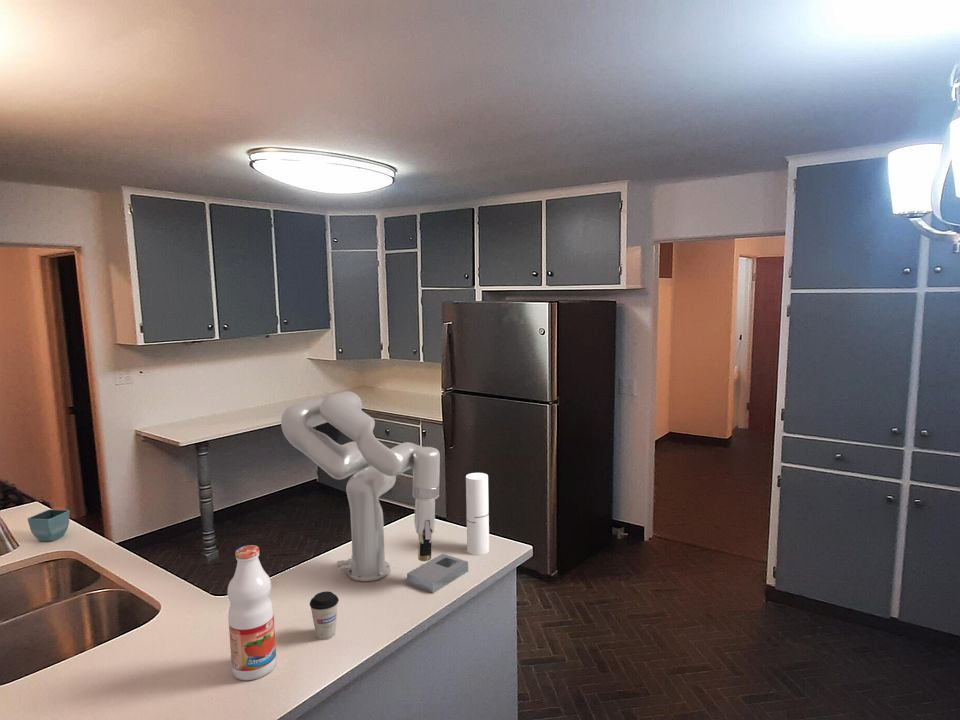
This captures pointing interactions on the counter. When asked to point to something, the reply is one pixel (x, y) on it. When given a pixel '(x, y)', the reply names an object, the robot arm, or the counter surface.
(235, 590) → the fruit juice
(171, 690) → the counter surface
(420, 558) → the tan cylindrical peg
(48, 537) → the flower pot
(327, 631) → the coffee cup
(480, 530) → the cylindrical container
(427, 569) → the jig plate
